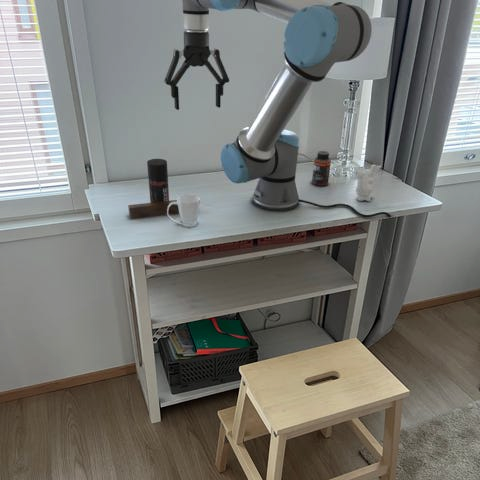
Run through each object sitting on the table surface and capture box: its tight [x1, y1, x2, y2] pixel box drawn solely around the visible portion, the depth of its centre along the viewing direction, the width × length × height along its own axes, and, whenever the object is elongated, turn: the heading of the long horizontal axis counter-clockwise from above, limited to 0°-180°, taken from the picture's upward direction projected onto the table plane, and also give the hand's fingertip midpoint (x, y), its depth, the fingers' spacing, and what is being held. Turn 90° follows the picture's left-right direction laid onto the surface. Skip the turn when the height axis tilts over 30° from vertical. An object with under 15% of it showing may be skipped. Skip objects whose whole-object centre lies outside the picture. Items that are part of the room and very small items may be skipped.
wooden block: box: [127, 199, 179, 220], centre depth 152 cm, size 21×2×4 cm, turn 110°
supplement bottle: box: [311, 150, 332, 187], centre depth 175 cm, size 6×6×11 cm
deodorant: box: [146, 158, 170, 203], centre depth 152 cm, size 6×6×15 cm
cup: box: [166, 193, 201, 228], centre depth 145 cm, size 7×10×8 cm
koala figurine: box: [355, 164, 382, 202], centre depth 164 cm, size 8×7×12 cm
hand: (197, 107), depth 155 cm, fingers open, 13 cm apart
